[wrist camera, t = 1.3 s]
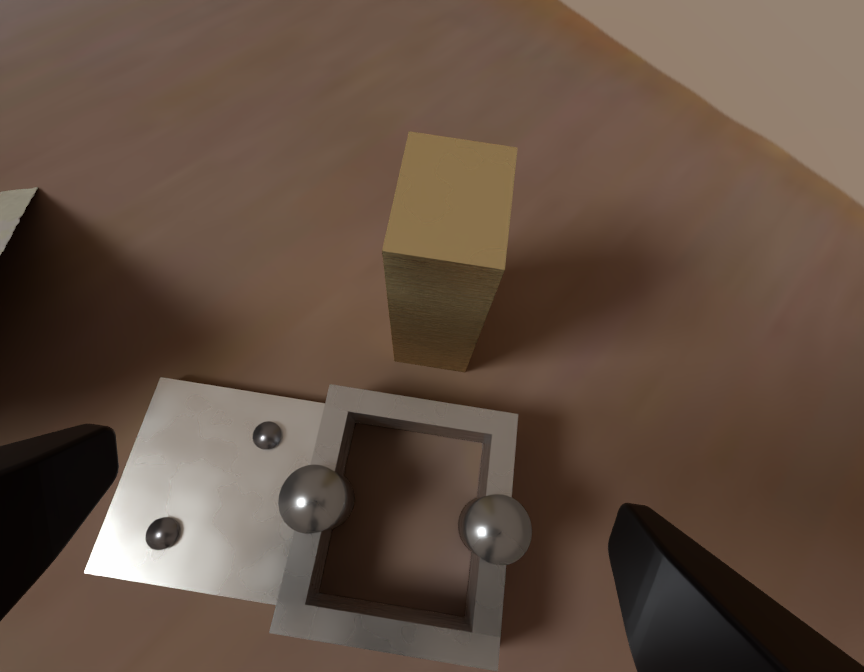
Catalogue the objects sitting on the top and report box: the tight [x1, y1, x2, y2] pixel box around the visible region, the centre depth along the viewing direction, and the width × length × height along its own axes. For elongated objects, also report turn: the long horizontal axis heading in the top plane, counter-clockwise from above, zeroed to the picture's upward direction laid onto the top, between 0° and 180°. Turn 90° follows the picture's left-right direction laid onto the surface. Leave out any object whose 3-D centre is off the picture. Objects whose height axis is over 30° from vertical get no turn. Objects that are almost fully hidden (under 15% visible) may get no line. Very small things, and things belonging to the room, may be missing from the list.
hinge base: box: [84, 377, 532, 671], centre depth 18 cm, size 17×9×3 cm, turn 81°
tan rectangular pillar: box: [382, 131, 517, 372], centre depth 18 cm, size 4×4×10 cm
